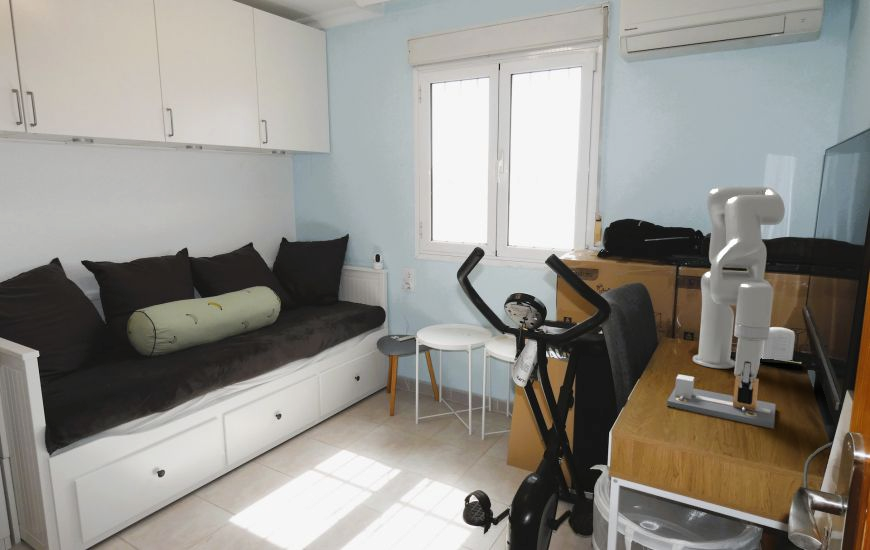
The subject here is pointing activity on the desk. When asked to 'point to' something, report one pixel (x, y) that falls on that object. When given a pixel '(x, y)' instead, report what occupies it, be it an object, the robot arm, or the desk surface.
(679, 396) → the slide rail plate
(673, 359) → the desk surface
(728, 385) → the desk surface
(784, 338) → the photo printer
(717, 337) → the robot arm
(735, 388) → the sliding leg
